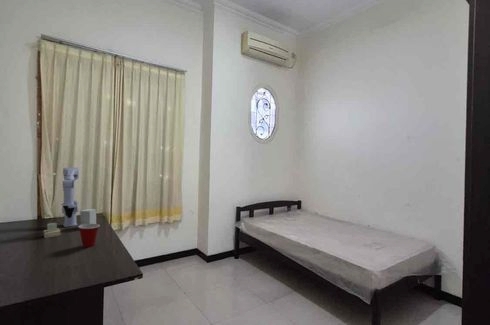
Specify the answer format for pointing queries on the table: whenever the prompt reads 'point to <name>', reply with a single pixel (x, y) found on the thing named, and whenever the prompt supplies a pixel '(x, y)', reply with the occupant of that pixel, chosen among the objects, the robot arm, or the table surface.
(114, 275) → the table surface
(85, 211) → the supplement box
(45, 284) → the table surface
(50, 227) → the sage cube
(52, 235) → the beech base
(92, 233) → the plastic cup
